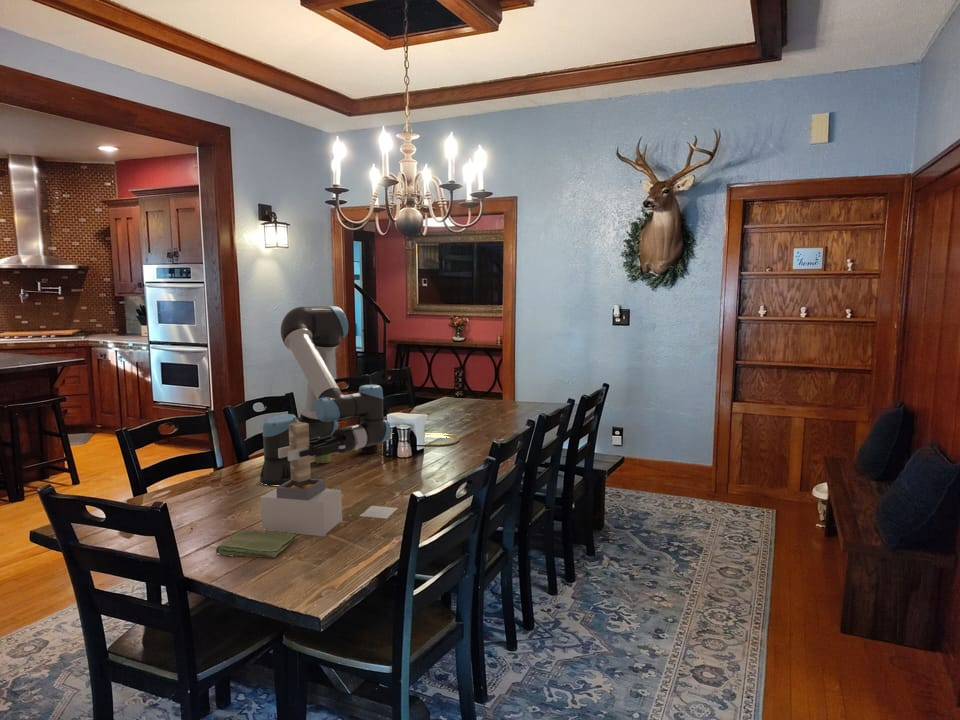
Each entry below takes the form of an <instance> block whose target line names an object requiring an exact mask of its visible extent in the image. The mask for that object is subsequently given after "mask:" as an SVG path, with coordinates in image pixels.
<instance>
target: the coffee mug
mask: <svg viewBox="0 0 960 720" xmlns="http://www.w3.org/2000/svg"><path fill="white" fill-rule="evenodd" d="M378 445H379V444H375V445H371V446H366V447H363V448H360V449H361V453H362V452H364V453H363V454H365V453H371V454H375V453H374V452H376V453H377V452H378V447H379V446H378Z"/></svg>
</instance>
